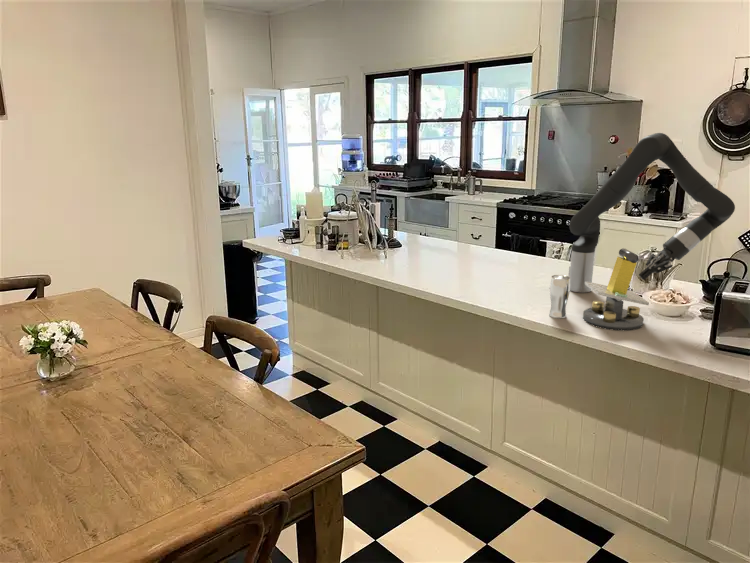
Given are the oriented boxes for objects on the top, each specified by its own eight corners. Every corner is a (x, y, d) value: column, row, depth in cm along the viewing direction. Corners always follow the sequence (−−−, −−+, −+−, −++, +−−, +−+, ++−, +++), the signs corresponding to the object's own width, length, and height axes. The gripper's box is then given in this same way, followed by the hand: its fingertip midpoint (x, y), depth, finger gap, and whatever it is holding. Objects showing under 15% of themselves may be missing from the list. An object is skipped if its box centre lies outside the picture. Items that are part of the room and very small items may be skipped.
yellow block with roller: (584, 283, 202) (597, 242, 198) (632, 293, 203) (646, 252, 198) (597, 294, 189) (612, 250, 185) (648, 305, 189) (664, 261, 185)
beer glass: (544, 313, 207) (547, 274, 203) (562, 312, 208) (566, 274, 204) (552, 319, 200) (555, 279, 196) (570, 318, 201) (574, 279, 197)
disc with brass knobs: (575, 311, 209) (578, 287, 206) (629, 312, 208) (632, 287, 205) (593, 330, 189) (596, 303, 187) (652, 330, 188) (656, 304, 186)
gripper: (665, 232, 196) (626, 265, 199) (684, 239, 183) (642, 275, 187) (678, 247, 197) (640, 280, 201) (698, 255, 184) (656, 290, 188)
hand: (641, 277), depth 194 cm, fingers closed
